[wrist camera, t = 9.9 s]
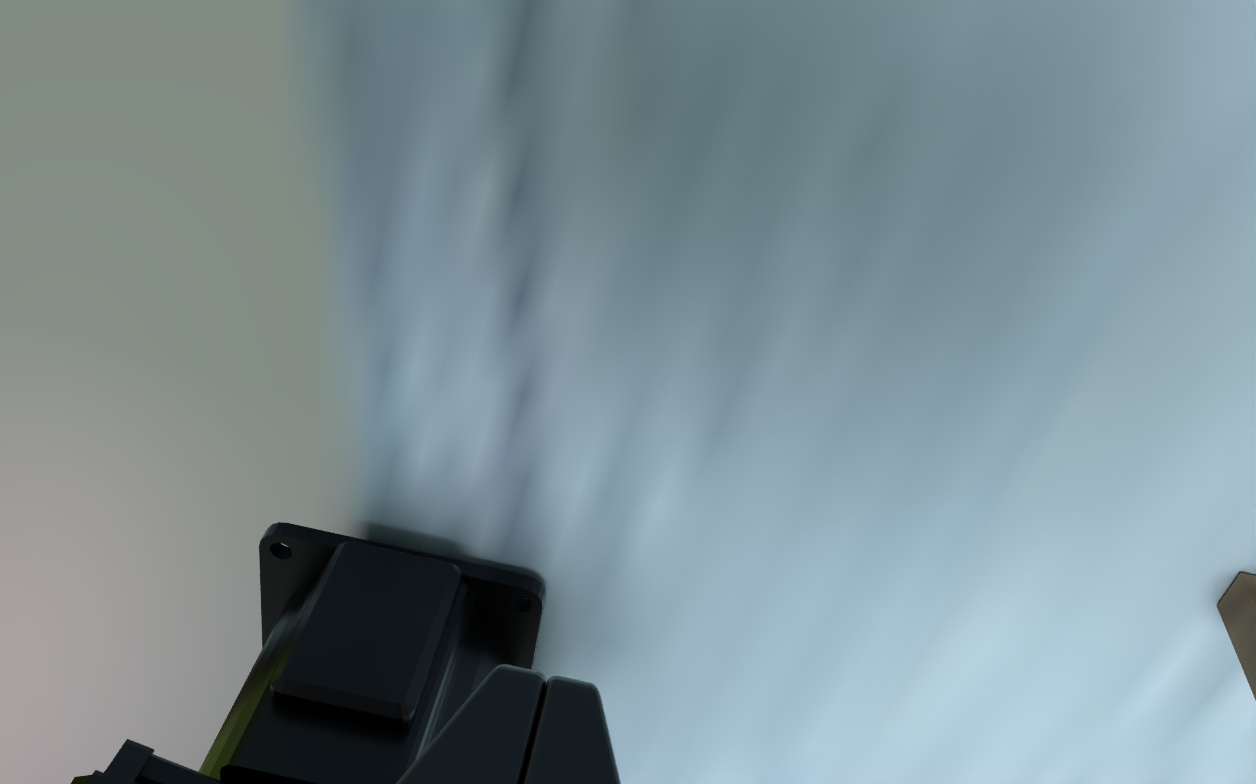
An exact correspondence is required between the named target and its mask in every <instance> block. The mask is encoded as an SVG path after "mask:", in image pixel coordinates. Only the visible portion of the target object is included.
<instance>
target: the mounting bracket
mask: <svg viewBox="0 0 1256 784" xmlns="http://www.w3.org/2000/svg"><path fill="white" fill-rule="evenodd" d="M1217 608H1218V610H1219V613H1220V615H1221V617H1222V620H1223V622H1224V625H1225V627H1226V629H1227V632H1228V634H1229V637H1230V639H1231V642H1232V644H1233V646H1234V649H1235V651H1236V654H1237V656H1238V659H1239V661H1240V663H1241V666H1242V668H1243V671H1244V673H1245V675H1246V678H1247V680H1248V683H1249V685H1250V688H1251V690H1252V692H1253V695H1254V697H1255V700H1256V576H1255V575H1250V574H1245V573H1241V572H1240V574H1239V575H1238V577H1237V578H1236V579H1235V581H1234V582H1233V584H1232V585H1231V587H1230V588H1229V589H1228V591H1227V592H1226V594H1225V595H1224V596H1223V598H1222V599H1221V601H1220V602H1219V604H1218V605H1217Z"/></svg>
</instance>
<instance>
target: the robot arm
mask: <svg viewBox="0 0 1256 784" xmlns="http://www.w3.org/2000/svg"><path fill="white" fill-rule="evenodd" d="M281 543H283V544H285V545H287V546H288V547H286V546H284V545H282V544H281ZM259 555H260V583H261V615H262V644H263V645H262V646H263V649H262V651H261V653H260V655H259V657H258V659H257V660H256V663H255V664H254V666H253V668H252V670H251V672H250V674H249V676H248V678H247V680H246V681H245V683H244V685H243V687H242V689H241V691H240V693H239V695H238V697H237V699H236V701H235V703H234V705H233V706H232V708H231V710H230V712H229V714H228V716H227V718H226V720H225V722H224V724H223V726H222V728H221V729H220V732H219V733H218V735H217V737H216V739H215V741H214V743H213V745H212V747H211V749H210V751H209V753H208V754H207V756H206V758H205V760H204V762H203V764H202V766H201V768H200V770H199V772H197V771H194V770H192V769H189V768H187V767H184V766H182V765H179V764H176V763H174V762H171V761H169V760H166V759H164V758H161V757H158V756H156V755H153V752H154V749H152V748H149V747H147V746H144V745H141V744H139V743H137V742H134V741H131V740H129V739H127V740H126V742H125V743H124V745H123V746H122V748H121V749H120V750H119V752H118V753H117V755H116V756H115V758H114V759H113V761H112V762H111V764H110V765H109V766H108V768H107V769H106V770H105V772H104V773H102V772H100V771H97V770H95V772H94V773H93V774H92V775H88V776H80V777H75V778H74V779H73V781H72V783H71V784H621V783H620V778H619V774H618V770H617V765H616V761H615V757H614V752H613V748H612V744H611V739H610V735H609V731H608V726H607V722H606V717H605V713H604V709H603V704H602V700H601V696H600V693H599V691H598V689H597V687H596V686H595V685H593V684H592V683H588V682H584V681H579V680H575V679H570V678H566V677H561V676H553V677H551V678H550V679H549V680H548V681H547V683H546V679H545V676H544V675H543V674H542V673H540V672H538V671H534V670H532V668H533V663H534V658H535V652H536V647H537V641H538V636H539V630H540V625H541V620H542V614H543V609H544V603H545V598H546V591H545V588H544V586H543V585H542V583H541V582H539V581H538V580H537V579H535V578H533V577H530V576H527V575H523V574H518V573H514V572H509V571H505V570H500V569H495V568H491V567H486V566H482V565H477V564H473V563H468V562H463V561H459V560H454V559H450V558H445V557H441V556H436V555H431V554H427V553H422V552H418V551H413V550H409V549H404V548H399V547H395V546H390V545H386V544H381V543H377V542H372V541H367V540H363V539H358V538H354V537H349V536H345V535H340V534H335V533H331V532H326V531H322V530H317V529H313V528H308V527H303V526H299V525H294V524H290V523H280V522H279V523H276V524H272V525H271V526H270V527H269V528H268V529H267V531H266V532H265V534H264V536H263V537H262V539H261V541H260V545H259ZM517 595H520V596H524V597H527V598H528V599H523V598H520V597H518V596H517ZM545 685H546V686H545Z"/></svg>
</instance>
